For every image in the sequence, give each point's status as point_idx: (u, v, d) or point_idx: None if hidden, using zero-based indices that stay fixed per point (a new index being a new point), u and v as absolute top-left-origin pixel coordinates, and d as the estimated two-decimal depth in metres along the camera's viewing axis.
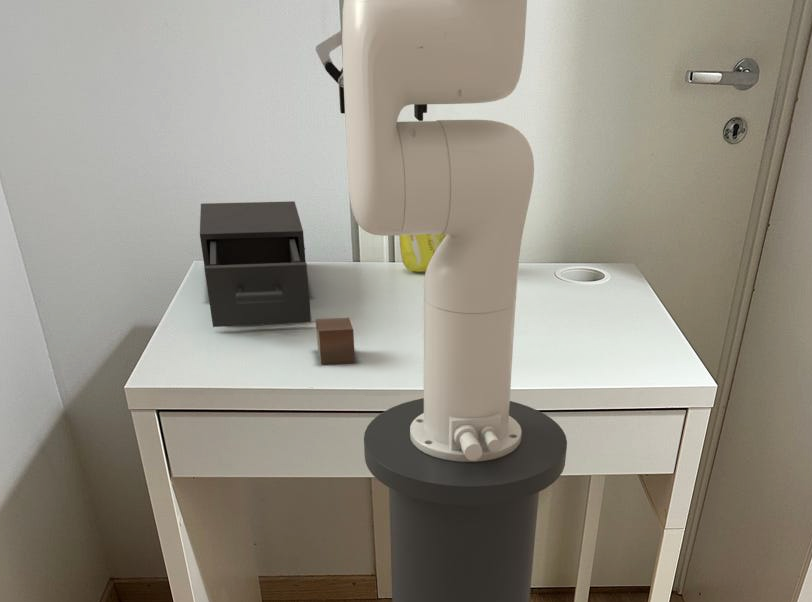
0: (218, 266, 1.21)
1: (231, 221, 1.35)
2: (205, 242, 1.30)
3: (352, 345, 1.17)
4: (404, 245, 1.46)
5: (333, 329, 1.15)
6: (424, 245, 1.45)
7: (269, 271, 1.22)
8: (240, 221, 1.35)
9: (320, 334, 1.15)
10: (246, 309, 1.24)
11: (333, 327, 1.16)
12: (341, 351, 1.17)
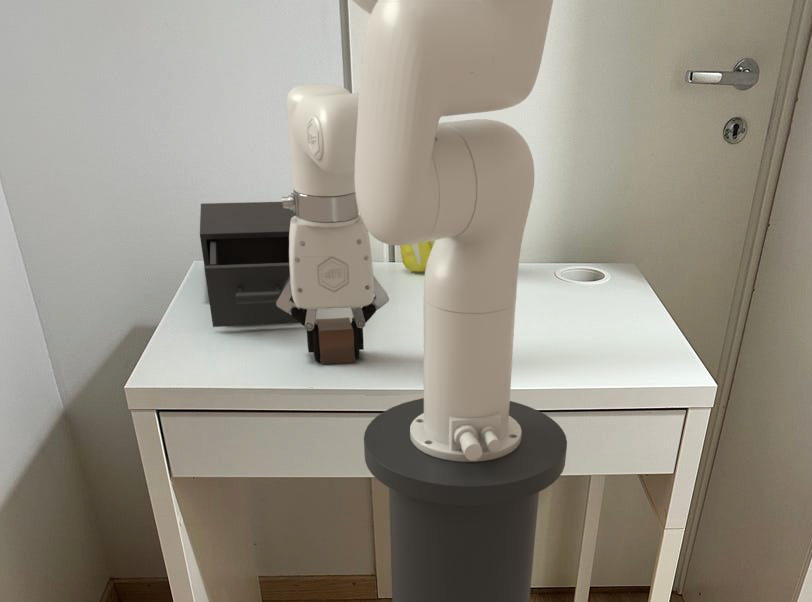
0: (218, 266, 1.21)
1: (231, 221, 1.35)
2: (205, 242, 1.30)
3: (352, 345, 1.17)
4: (404, 245, 1.46)
5: (333, 329, 1.15)
6: (424, 245, 1.45)
7: (269, 271, 1.22)
8: (240, 221, 1.35)
9: (320, 334, 1.15)
10: (246, 309, 1.24)
11: (333, 327, 1.16)
12: (341, 351, 1.17)
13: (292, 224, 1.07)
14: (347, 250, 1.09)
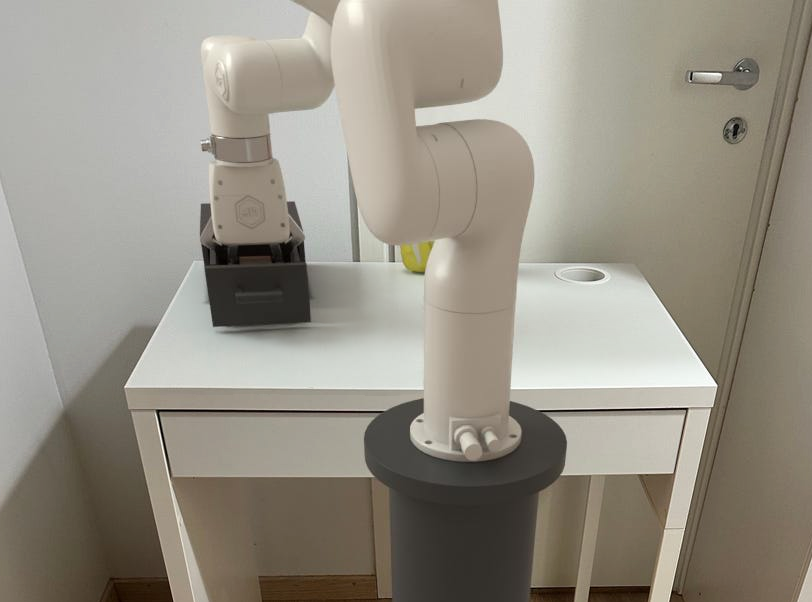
0: (218, 266, 1.21)
1: None
2: None
3: None
4: (404, 245, 1.46)
5: None
6: (424, 245, 1.45)
7: (269, 271, 1.22)
8: None
9: None
10: (246, 309, 1.24)
11: (253, 262, 1.27)
12: None
13: (210, 165, 1.18)
14: (262, 189, 1.20)
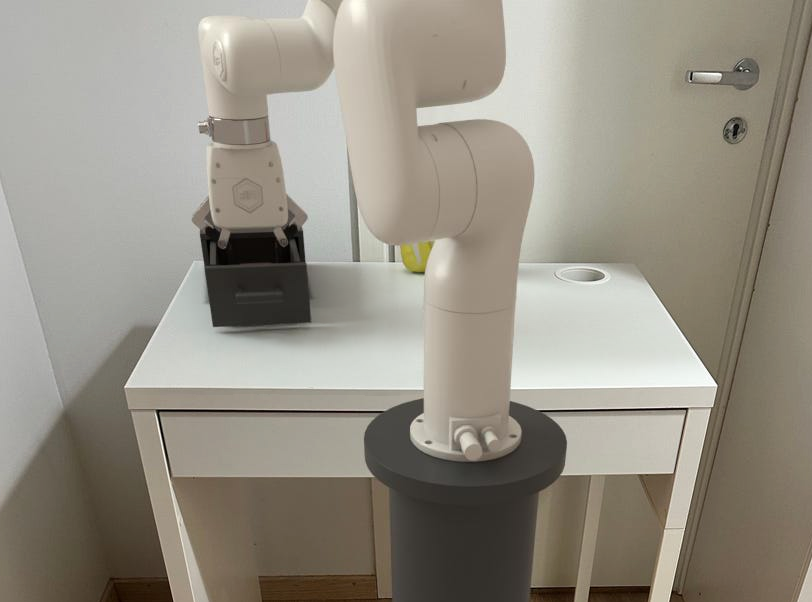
0: (218, 266, 1.21)
1: None
2: (205, 242, 1.30)
3: None
4: (404, 245, 1.46)
5: None
6: (424, 245, 1.45)
7: (269, 271, 1.22)
8: None
9: None
10: (246, 309, 1.24)
11: None
12: None
13: (208, 147, 1.17)
14: (260, 172, 1.19)
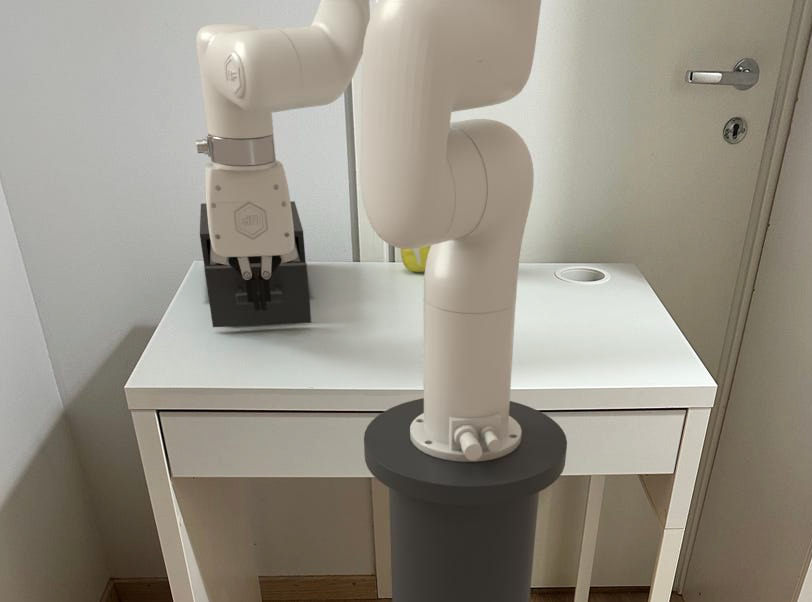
0: (218, 266, 1.20)
1: None
2: (205, 242, 1.30)
3: None
4: None
5: None
6: None
7: None
8: None
9: None
10: (246, 309, 1.24)
11: None
12: None
13: (207, 168, 1.06)
14: (264, 195, 1.08)
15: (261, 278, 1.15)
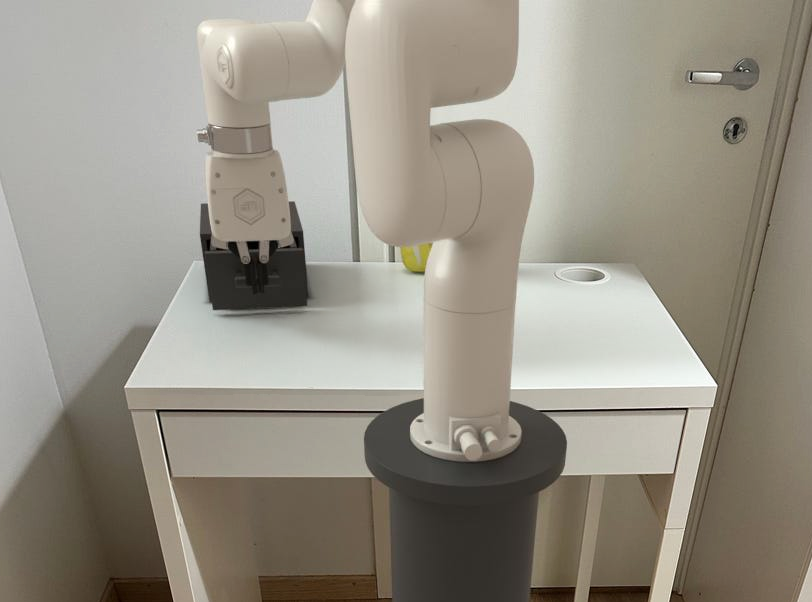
0: (218, 251, 1.26)
1: None
2: (205, 242, 1.30)
3: None
4: None
5: None
6: (424, 245, 1.45)
7: None
8: None
9: None
10: (245, 293, 1.29)
11: None
12: None
13: (207, 156, 1.12)
14: (261, 182, 1.13)
15: (259, 262, 1.21)
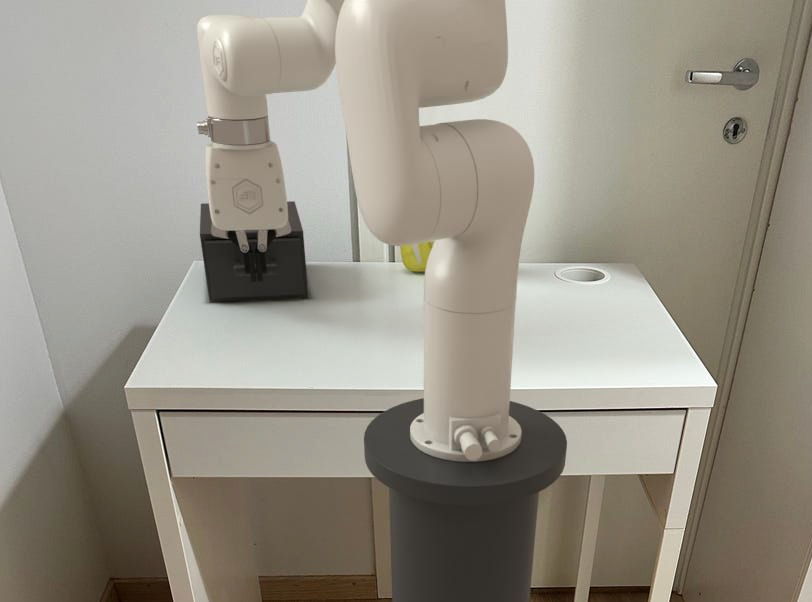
0: (218, 241, 1.30)
1: None
2: None
3: None
4: None
5: None
6: (424, 245, 1.45)
7: None
8: None
9: None
10: (244, 282, 1.33)
11: None
12: None
13: (207, 148, 1.16)
14: (260, 173, 1.18)
15: (257, 251, 1.25)
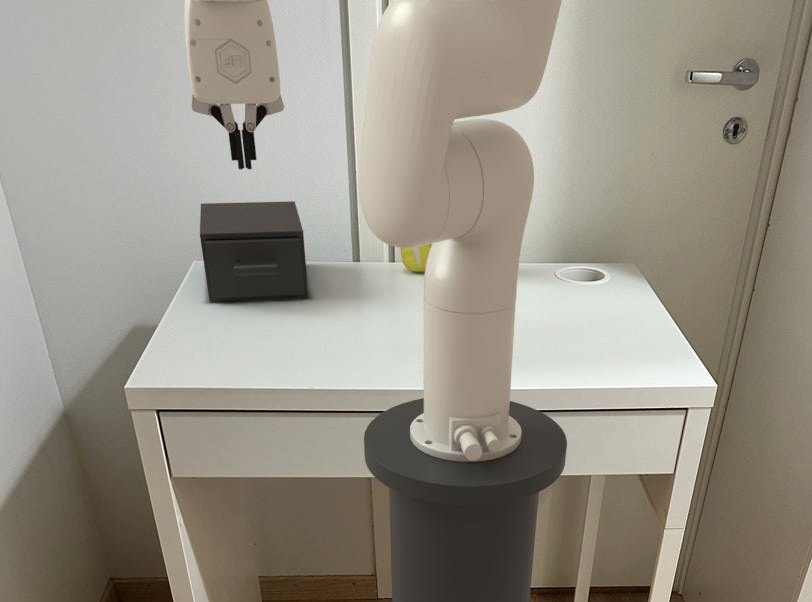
0: (218, 241, 1.30)
1: (231, 221, 1.35)
2: None
3: None
4: None
5: None
6: (424, 245, 1.45)
7: (265, 246, 1.31)
8: (240, 221, 1.35)
9: None
10: (244, 282, 1.33)
11: None
12: None
13: (186, 0, 0.99)
14: (247, 32, 1.01)
15: (245, 131, 1.09)
